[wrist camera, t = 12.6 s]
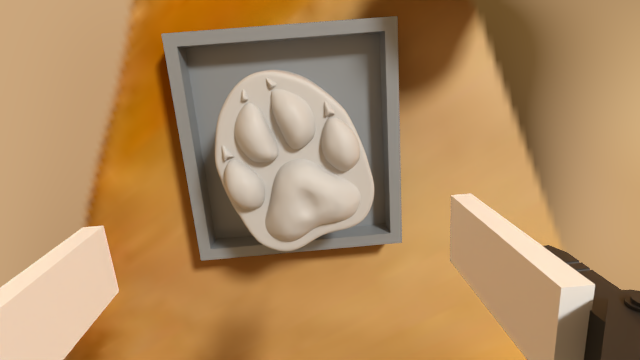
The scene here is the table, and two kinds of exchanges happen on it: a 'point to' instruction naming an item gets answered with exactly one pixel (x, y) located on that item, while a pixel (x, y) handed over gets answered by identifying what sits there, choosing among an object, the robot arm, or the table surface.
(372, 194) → the lumpy-topped squat cylinder
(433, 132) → the table surface
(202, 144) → the charcoal tray
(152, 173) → the table surface
